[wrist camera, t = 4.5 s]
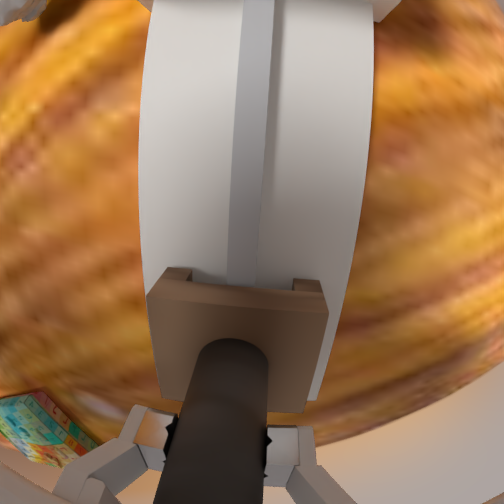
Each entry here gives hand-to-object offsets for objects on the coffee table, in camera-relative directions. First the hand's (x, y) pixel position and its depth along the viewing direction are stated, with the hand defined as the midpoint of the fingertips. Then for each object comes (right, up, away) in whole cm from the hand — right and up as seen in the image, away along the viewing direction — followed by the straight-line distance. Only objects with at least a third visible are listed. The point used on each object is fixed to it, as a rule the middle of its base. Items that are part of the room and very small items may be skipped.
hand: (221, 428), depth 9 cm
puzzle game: (-27, -16, +18) cm, 36 cm away
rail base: (+2, +12, +5) cm, 13 cm away
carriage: (0, +2, +6) cm, 6 cm away
